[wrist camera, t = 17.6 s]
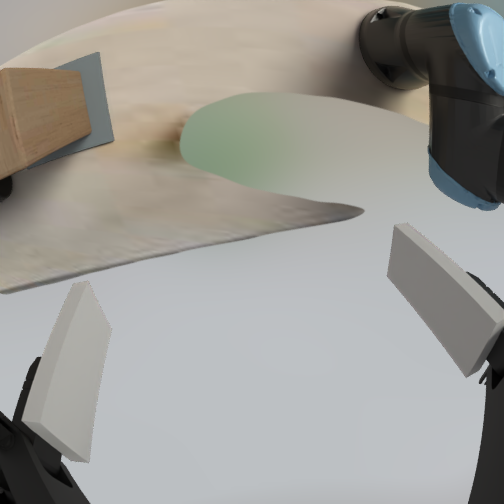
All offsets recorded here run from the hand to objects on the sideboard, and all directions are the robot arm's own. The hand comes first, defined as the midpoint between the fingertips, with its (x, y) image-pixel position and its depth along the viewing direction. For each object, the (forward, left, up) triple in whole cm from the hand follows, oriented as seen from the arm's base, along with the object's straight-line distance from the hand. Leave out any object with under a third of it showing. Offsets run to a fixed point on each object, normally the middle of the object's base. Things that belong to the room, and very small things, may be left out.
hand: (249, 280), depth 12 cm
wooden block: (+22, -10, -34) cm, 42 cm away
